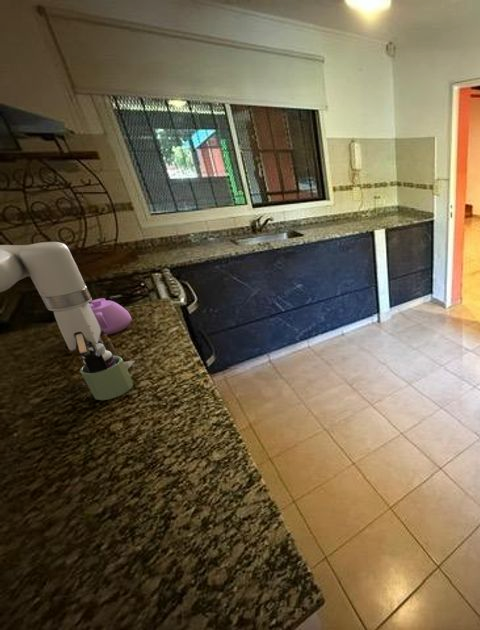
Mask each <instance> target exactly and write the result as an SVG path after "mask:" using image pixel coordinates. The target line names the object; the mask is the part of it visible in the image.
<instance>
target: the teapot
mask: <svg viewBox="0 0 480 630" xmlns="http://www.w3.org/2000/svg"><path fill="white" fill-rule="evenodd" d="M88 304H89V305H90V307H91V309H92V311H93V313H94V315H95V317H96V319H97V321H98V324H99V326H100V329H101V330H104V332H105V334H106V335H107V336H109V335H113V334H115V333H119V332H121V331H123V330H125V329H126V328H128V327H129V326H130V324H131V322H132V316H131V314H130V312H129V311H128V310H127V309H125V308H124V307H123V306H122V305H120V304H119V303H117V302H116V301H113V300H109V299H107V300H106V298H105V297H99V298H96V299H92V301H91V302H89V303H88Z"/></svg>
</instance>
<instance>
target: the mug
mask: <svg viewBox="0 0 480 630" xmlns="http://www.w3.org/2000/svg"><path fill="white" fill-rule="evenodd" d="M113 357H114V360H115V362H116V365H114V366H112V367H111V368H108V369H106V370H103V371H99V372H95V373H89V372H88V370H87V368H86V366H85V364H84V365H83V366H82V367H80V368H79V373H80V376H81V377H82V380H83V381H84V382H85V384H86V387H87V388H88V391H89V392H90V394H91V396H92V397H93V398H94V400H97V401H106V400H112V399H115V398H117V397H120V396H123V395H124V394H125V393H128V392H129V391H130V390H132V388H133V386H134V382H133V380H132V376H131V375H130V373H129V371H128V370H129V369H128V370H127V368H126V366H125V364H124V362H125V361H124V360H123V358H122V356H119V355H118V356H113Z"/></svg>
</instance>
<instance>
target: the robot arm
mask: <svg viewBox="0 0 480 630" xmlns="http://www.w3.org/2000/svg"><path fill="white" fill-rule="evenodd" d="M27 277H29V278H30V279H31V281H32V283H33V284H34V286H35V289H36V291H37V292H38V294H39V296H40V298H41V300H42V301H43V303H44V305H45V307H46V309H47V310H48V311H51V312H53V315H54V318H55V321H56V323H57V327H58V328H59V331H60V333H61V335H62V337H63V340H64V342H65V344H66V346H67V348H68V350H69V351H71V352H73V351H75V350H77V348H78V352H79V354H80V355H81V357H82V360H83V359H84V361H85V363H86V365H87V367H88V369H89V371H90V372H91V373H94V372H98V371H102V370H106V369H107V368H108V367H107V364H106V362H105V360H104V358H103V356H102V354H99V352H98V349H97V346H96V344H98V343H103V341H102V339H101V337H100V332H101V330H100V326H99V324H98V321H97V319H96V317H95V315H94V313H93V311H92V309H91V307H90V305H89V304H90V303H91V301H93V298H92V296H91V293H90V291H89V289H88V287H87V284H86V283H85V280H84V279H83V278H84V277H83V276H82V274H81V272H80V269H79V268H78V265H77V263H76V261H75V259H74V257H73V255H72V253H71V251H70V248H69V247H68V246H67V245H66V244H65V243H62V242H59V241H44V242H36V243H32V244H0V293H2V292H6V291H7V290H9V289H10V288H12V287H13V286H14V285H15V284H16V283H17V282H19V281H20V280H23V279H25V278H27ZM103 345H104V347H105V344H104V343H103ZM90 347H92V348H93V350H94V351H92V350H89V349H88V348H90ZM105 349H106V347H105ZM106 350H107V349H106Z"/></svg>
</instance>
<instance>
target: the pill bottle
mask: <svg viewBox="0 0 480 630" xmlns="http://www.w3.org/2000/svg"><path fill="white" fill-rule="evenodd" d="M96 346H97V349H98V352H99V354H102V356H103V358H104V360H105V362H106V364H107V367H108V368H111V367H112V366H114V365H116V362H115V360H114V357H113V355H112V353H111V352H110V351H107V350H106V349H105V347H104V345H103V344H101V343H98V344H96ZM88 349H89V350H92V351H94V350H93V348H92V347H90V348H88ZM82 362H83V364H84V365H85V366H86V368H87V370H88V372H89V373H91V372H90V371H89V369H88V367H87V365H86V363H85V361H84V359H83V358H82ZM108 368H107V369H108ZM102 371H103V370H102ZM98 372H99V371H98ZM94 373H95V372H94Z"/></svg>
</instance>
